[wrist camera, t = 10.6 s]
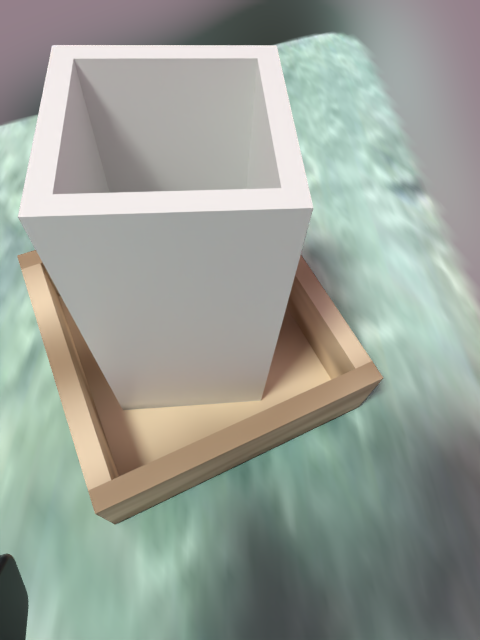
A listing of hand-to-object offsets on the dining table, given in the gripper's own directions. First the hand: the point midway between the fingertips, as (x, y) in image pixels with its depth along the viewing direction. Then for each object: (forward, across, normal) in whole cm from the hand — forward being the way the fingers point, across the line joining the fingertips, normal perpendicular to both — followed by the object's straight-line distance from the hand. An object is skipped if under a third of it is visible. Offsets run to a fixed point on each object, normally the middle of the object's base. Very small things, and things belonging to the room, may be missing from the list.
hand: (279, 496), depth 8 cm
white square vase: (+14, 0, +2) cm, 14 cm away
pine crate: (+14, 0, +2) cm, 14 cm away
